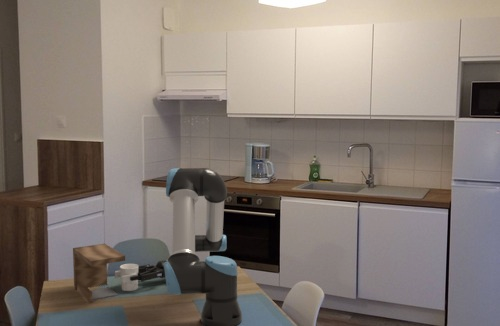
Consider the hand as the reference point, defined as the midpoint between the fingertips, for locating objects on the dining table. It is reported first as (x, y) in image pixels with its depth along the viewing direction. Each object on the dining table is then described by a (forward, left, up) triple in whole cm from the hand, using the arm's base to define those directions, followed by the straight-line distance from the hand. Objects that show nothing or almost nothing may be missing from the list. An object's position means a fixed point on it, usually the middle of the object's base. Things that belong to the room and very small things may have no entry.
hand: (118, 277), depth 236 cm
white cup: (+2, -4, -6) cm, 8 cm away
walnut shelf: (-3, +8, -6) cm, 10 cm away
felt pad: (-4, +7, -6) cm, 10 cm away
